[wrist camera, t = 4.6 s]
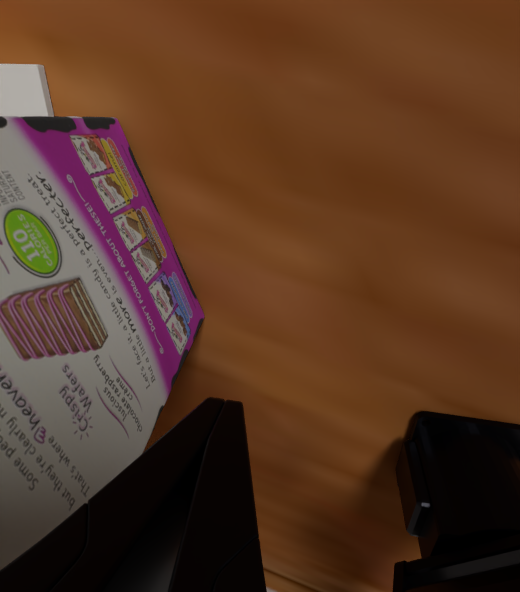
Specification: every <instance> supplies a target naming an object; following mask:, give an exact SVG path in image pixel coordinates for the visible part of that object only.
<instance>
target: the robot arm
mask: <svg viewBox="0 0 520 592" xmlns="http://www.w3.org/2000/svg"><path fill="white" fill-rule="evenodd" d="M423 420H427V421H423ZM396 474H397V483H398V487H399V491H400V497H401V503H402V508H403V514H404V520H405V525H406V530H407V531H408V533H409V534H410V535H411V536H416V537H418V542H419V547H420V552H421V557H422V558H421V559H417V560H413V561H410V562H406V561H401V562H397V563H395V566H394V580H393V592H520V425H518V424H511V423H504V422H497V421H490V420H483V419H476V418H469V417H462V416H455V415H448V414H441V413H435V412H428V411H423V412H419V413H418V414H417V415H416V417H415V420H414V424H413V427H412V430H411V434H410V437H409V440H406V441H405V442H404V443H403V446H402V449H401V452H400V456H399V459H398V462H397V466H396ZM258 538H259V534H258V526H257V518H256V509H255V501H254V493H253V484H252V476H251V468H250V459H249V451H248V443H247V435H246V426H245V418H244V410H243V404H242V402H240V401H233V400H226V401H225V400H224V399H220V398H214V397H209V398H207V399H205V400H204V401H203V402H202V403H201V404H200V405H198V406H197V407H196V408H195V409H194V410H193V411H191V412H190V413H189V414H188V415H187V416H186V417H184V418H183V419H182V420H181V421H180V422H179V423H177V424H176V425H175V426H174V427H173V428H172V429H170V430H169V431H168V432H167V433H166V434H165V435H163V436H162V437H161V438H160V439H159V440H158V441H156V442H155V443H154V444H153V445H152V446H151V447H149V448H148V449H147V450H146V451H145V452H144V453H142V454H141V455H140V456H139V457H138V458H137V459H135V460H134V461H133V462H132V463H131V464H130V465H128V466H127V467H126V468H125V469H124V470H123V471H121V472H120V473H119V474H118V475H117V476H116V477H114V478H113V479H112V480H111V481H110V482H109V483H107V484H106V485H105V486H104V487H103V488H102V489H100V490H99V491H98V492H97V493H96V494H95V495H93V496H92V497H91V498H90V499H89V500H88V504H87V503H84V504H83V505H82V506H80V507H79V508H78V509H77V510H76V511H75V512H73V513H72V514H71V515H70V516H69V517H68V518H66V519H65V520H64V521H63V522H62V523H60V524H59V525H58V526H57V527H55V528H54V529H53V530H52V531H51V532H49V533H48V534H47V535H46V536H44V537H43V538H42V539H41V540H40V541H38V542H37V543H36V544H34V545H33V546H32V547H30V548H29V549H28V550H26V551H25V552H24V553H22V554H21V555H20V556H18V557H17V558H16V559H15V560H13V561H12V562H11V563H9V564H8V565H7V566H5V567H4V568H2V569H1V570H0V592H267V591H266V584H265V578H264V571H263V565H262V557H261V549H260V541H259V539H258Z"/></svg>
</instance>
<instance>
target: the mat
mask: <svg viewBox="0 0 520 592" xmlns="http://www.w3.org/2000/svg"><path fill="white" fill-rule="evenodd" d="M0 116H19V117H24V116H49V117H54V113H53V108H52V104H51V99H50V94H49V89H48V85H47V80H46V75H45V70H44V65H38V64H0Z"/></svg>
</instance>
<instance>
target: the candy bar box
mask: <svg viewBox="0 0 520 592" xmlns="http://www.w3.org/2000/svg"><path fill="white" fill-rule="evenodd" d="M203 319H204V313H203V311H202V308H201V306H200V304H199V302H198V300H197V297H196V295H195V293H194V291H193V289H192V286H191V284H190V282H189V280H188V278H187V275H186V273H185V271H184V269H183V267H182V264H181V262H180V260H179V257H178V255H177V253H176V251H175V248H174V246H173V244H172V242H171V240H170V237H169V235H168V233H167V231H166V228H165V226H164V224H163V222H162V219H161V217H160V215H159V212H158V210H157V208H156V205H155V203H154V201H153V199H152V196H151V194H150V192H149V190H148V187H147V185H146V183H145V180H144V178H143V176H142V174H141V171H140V169H139V167H138V165H137V162H136V160H135V158H134V155H133V153H132V151H131V149H130V146H129V144H128V142H127V139H126V137H125V135H124V133H123V130H122V128H121V126H120V124H119V121H118V119H117V118H113V117H76V116H74V117H58V116H55V117H49V116H24V117H19V116H0V570H1V569H2V568H4V567H5V566H7V565H8V564H9V563H11V562H12V561H13V560H15V559H16V558H17V557H18V556H20V555H21V554H22V553H24V552H25V551H26V550H28V549H29V548H30V547H32V546H33V545H34V544H36V543H37V542H38V541H40V540H41V539H42V538H43V537H44V536H46V535H47V534H48V533H49V532H51V531H52V530H53V529H54V528H55V527H57V526H58V525H59V524H60V523H62V522H63V521H64V520H65V519H66V518H68V517H69V516H70V515H71V514H72V513H73V512H75V511H76V510H77V509H78V508H79V507H80V506H82V505H83V504H84V503H87V504H88V500H89V499H90V498H91V497H92V496H93V495H95V494H96V493H97V492H98V491H99V490H100V489H102V488H103V487H104V486H105V485H106V484H107V483H109V482H110V481H111V480H112V479H113V478H114V477H116V476H117V475H118V474H119V473H120V472H121V471H123V470H124V469H125V468H126V467H127V466H128V465H130V464H131V463H132V462H133V461H134V460H135V459H137V458H138V457H139V456H140V455H141V454H142V453H143V451H144V449H145V447H146V445H147V442H148V440H149V438H150V436H151V434H152V431H153V430H154V427H155V424H156V422H157V419H158V417H159V415H160V413H161V411H162V409H163V407H164V405H165V403H166V401H167V398H168V396H169V394H170V392H171V389H172V387H173V384H174V382H175V380H176V378H177V376H178V374H179V372H180V369H181V367H182V365H183V363H184V361H185V358H186V356H187V354H188V352H189V350H190V348H191V346H192V343H193V341H194V339H195V337H196V334H197V332H198V330H199V328H200V326H201V324H202V321H203Z"/></svg>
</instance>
